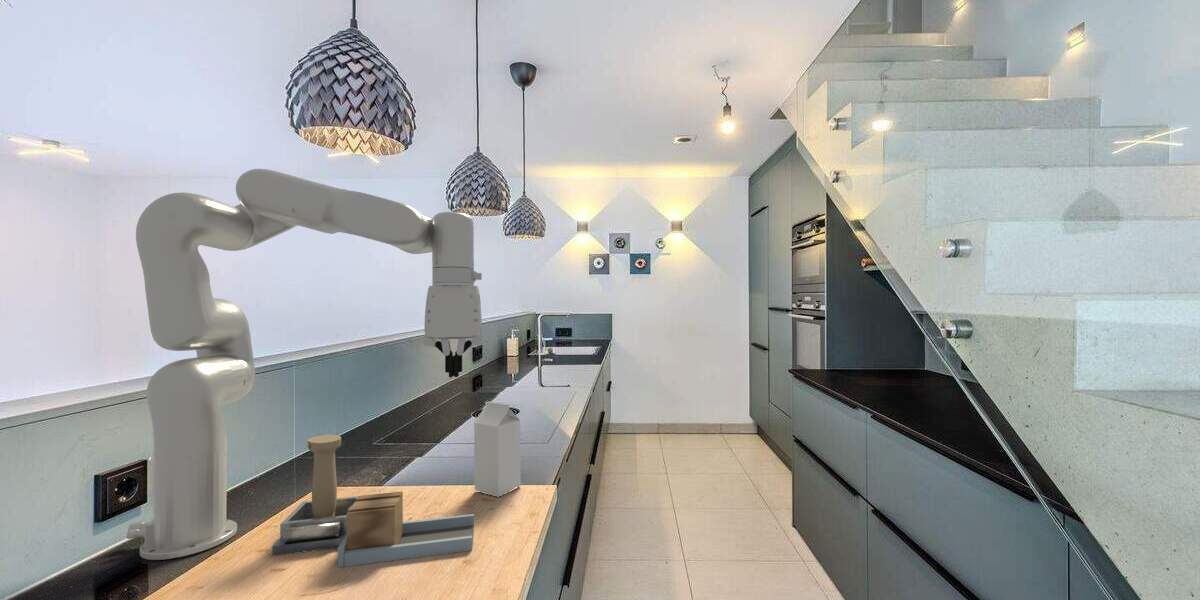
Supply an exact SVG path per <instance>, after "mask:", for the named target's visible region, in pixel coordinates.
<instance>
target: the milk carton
mask: <svg viewBox="0 0 1200 600" xmlns="http://www.w3.org/2000/svg"><path fill="white" fill-rule="evenodd" d="M484 403H485V405H484V408H483V409H482V410H481V412H480V413H479V415H478V416H477V418H476V419H475V421H474V422H473V423H474V424H473V429H474V430H473V432H474V433H473V438H474V439H473V441H474V442H473V443H474V445H473V446H474V447H473V448H474V452H473V453H474V454H473V455H474V457H473V458H474V461H473V462H474V491H475V490H477V491H480V492H484V493H487V494H490V495H494V496H497V497H499V496H501V495H503V494H504V493H506V492H509V491H510V490H512V489H514V488H515V487H519V486H521V487H522V471H521V469H522V467H521V466H522V465H521V459H522V457H521V419H520V418H519V417H518V416H517V415H516V414H515V413H514V412H513V411H512V410H511V409H510V404H509V403H503V402H502V403H501V402H494V401H493V402H492V401H485V402H484ZM519 488H520V487H519ZM509 493H510V492H509ZM503 496H504V495H503ZM497 497H496V498H497ZM501 497H502V496H501ZM499 498H500V497H499Z"/></svg>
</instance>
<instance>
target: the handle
mask: <svg viewBox="0 0 1200 600" xmlns="http://www.w3.org/2000/svg"><path fill="white" fill-rule="evenodd" d="M341 446H342V437H341V436H340V435H337V434H323V435H317V436H313V437H309V438H308V439H307V449H308V450H309V451H310V452H312V453H313V466H312V467H313V470H312V481H311V482H312V484H311V501H312V509H313V515H314V516H315V518H314V519H316V518H325V517H335V509H336V501H337V498H338V484H337V483H338V481H337V470H336V467H337V465H336V450H337V449H339V448H340V447H341Z"/></svg>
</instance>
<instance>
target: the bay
mask: <svg viewBox="0 0 1200 600" xmlns="http://www.w3.org/2000/svg"><path fill="white" fill-rule="evenodd" d="M474 531H475V513H471V514H470V513H469V514H461V515H451V516H445V517H444V516H443V517H436V518H435V517H433V518H426V519H416V520H407V521H403V533H402V536H401V538H400V541H399V543H398V545H390V546H382V547H374V548H366V549H357V550H349V551H347V535H346V536H345V538H344V539H343V541H342V542H341V544H340V545H339V547H338V548H337V568H343V567H351V566H352V567H353V566H360V565H367V564H369V565H370V564H376V563H383V562H391V561H399V560H406V559H413V558H420V557H421V558H422V557H429V556H430V557H431V556H438V555H439V556H440V555H445V554H446V555H447V554H452V553H462V552H469V551H473V544H474Z"/></svg>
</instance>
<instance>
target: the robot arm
mask: <svg viewBox="0 0 1200 600" xmlns="http://www.w3.org/2000/svg"><path fill="white" fill-rule="evenodd" d="M235 192H236V196H237V199H238V201H239V202H240V204H238V205H235V206H233V205H230V204H227V203H224V202H222V201H219V200H218V199H214V198H211V197H208V196H204V195H202V194H197V193H192V192H172V193H168V194H165V195H163V196H160V197H158V198H156V199H155V200H153V201H152V202H151V203H149V205H148V206H146V207H145V208H144V210H143V211H142V212H141V215H140V216H139V218H138V220H137V224H136V228H135V243H136V248H137V252H138V256H139V260H140V264H141V268H142V272H143V280H144V290H145V298H146V299H145V300H146V305H147V314H148V320H149V328H150V333H151V336H152V339H153V341H154V342H155V343H156V344H157V346H159V348H162V349H164V350H168V351H174V352H186V351H187V352H188V351H196V352H195V354H196V357H191V358H189V357H188V358H184V359H179V360H176V361H172V362H170V363H168V364H166V365H164V366H162V367H160V368H159V369H158V370H157V371H155V373H154V374H153V375H152V376H151V378H150V379H149V381H148V383H147V387H146V401H147V405H148V409H149V414H150V417H151V423H152V431H153V432H152V433H153V502H152V503H153V505H152V506H153V507H152V508H153V509H152V510H153V512H152V513H153V515H152V516H153V517H152V519H153V520H152V521H151V520H150V521H149V520H148V521H146V520H144V521H143V520H142V521H134V522H131V523H130V524H129V526H128V528H127V533H126V539H128V540H130V539H131V540H132V539H138V538H143V539H144V542H143V543H142V544H141V545H140V546H139V557H141V558H142V559H145V560H149V561H161V560H172V559H177V558H182V557H186V556H189V555H194V554H197V553H198V554H199V553H201V552H203V551H206V550H209V549H212V548H214V547H217V546H219V545H221V544H223V543H225V542H226V541H228V540H230V539H231V538H232V537H234V536H235V534H236V533H237V531H238V523H237V522H236V521H234V520H233V519H227V497H228V494H227V488H228V487H227V486H228V485H227V484H228V483H227V482H228V481H227V480H228V472H227V471H228V466H227V465H228V458H227V457H228V444H227V443H228V442H227V440H228V439H227V437H228V436H227V428H226V427H227V426H226V424H225V420H224V417H223V416H222V413H221V410H220V407H223V406H225V405H229V404H232V403H234V402H236V401H240V400H241V399H243V398H244V397H245V396H246V395H248V394H249V393H250V391H251V390H252V388H253V386H254V384H255V379H256V368H255V360H254V352H253V344H252V336H251V331H250V330H251V329H250V324H249V321H248V318H247V316H246V314H245V312H243V310H242V309H241V307H239V306H238V305H237V304H235V303H233V302H231V301H229V300H226V299H222V298H214V297H213V296H214V295H213V292H212V286H211V280H210V279H211V278H210V277H211V276H210V273H209V269H208V267H207V265H206V262H205V261H204V259H203V257H202V256H201V254H200V252H199V246H203V247H209V248H212V249H218V250H222V251H226V252H227V251H229V252H237V251H243V250H247V249H249V248H250V249H251V248H253V247H255V246H258V245H259V244H261V243H264V242H266V241H268V240H270V239H272V238H275V237H277V236H279V235H282V234H283V233H285V232H288V231H290V230H292V229H294V228H295V227H302V228H306V229H309V230H314V231H317V232H320V233H324V234H330V235H333V234H336V233H343V234H348V235H353V236H357V237H362V238H365V239H369V240H372V241H376V242H379V243H383V244H387V245H389V246H392V247H396V248H398V249H399V250H400V251H403V252H406V253H407V254H411V255H421V254H428V253H431V260H432V262H431V265H432V266H431V267H432V270H431V273H432V274H431V275H432V277H431V278H432V280H431V285H429V286H428V289H427V293H426V298H425V299H426V300H425V310H424V311H425V312H424V325H423V326H424V328H423V329H424V337H423V343H422V344H423V345H424V346H428V347H432V348H436V349H438V350H439V352H441V353H442V355H444V356H445V357H444V360H445V361H444V370H445V373H448V378H453V377H454V378H458V377H459V375H460V373H462V372H463V354H464V353H465V352H466V351H467V350H468V349H469V348H470V347H473V346H478V345H481V344H483V342H484V339H483V335H482V330H483V328H482V327H483V325H482V324H483V323H482V305H481V304H482V303H481V295H480V294H481V293H480V289H479V286H478V285H475V282H476V281H482V278H483V277H482V272H477V271H475V270H474V269H475V261H474V259H475V257H474V256H475V254H474V253H475V252H474V251H475V250H474V248H475V247H474V240H475V239H474V236H475V233H474V231H475V230H474V227H475V226H474V221H473V218H472V216H470V215H469V214H467V213H462V212H460V211H459V212H458V211H441V212H438V213H436V214H434V216H433V217H428V216H425V215H423V214H421V212H419V211H418V210H416V209H415V208H414V207H412V206H410V205H409V204H405V203H403V202H402V203H401V202H400V201H399V202H398V201H394V200H392V199H389V198H388V199H387V198H384V197H380V196H377V195H375V194H374V195H373V194H370V193H365V192H362V191H356V190H355V191H354V190H349V189H345V188H339V187H334V186H331V185H327V184H324V183H320V182H315V181H313V180H309V179H305V178H301V177H297V176H294V175H291V174H287V173H284V172H281V171H277V170H272V169H269V168H267V169H266V168H254V169H250V170H247V171H245V172H243V173H242V174H241V175H239V177H238V179H237V181H236V183H235ZM454 339H456V340H457V339H458V340H457V347H456V351H455V352H453V351H452V348H451V347H452V346H451V343H450V342H451V341H450V340H454Z"/></svg>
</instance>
